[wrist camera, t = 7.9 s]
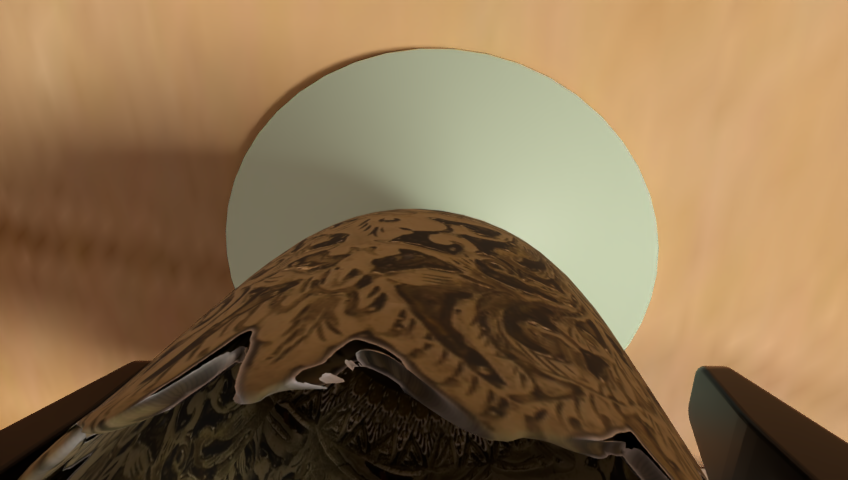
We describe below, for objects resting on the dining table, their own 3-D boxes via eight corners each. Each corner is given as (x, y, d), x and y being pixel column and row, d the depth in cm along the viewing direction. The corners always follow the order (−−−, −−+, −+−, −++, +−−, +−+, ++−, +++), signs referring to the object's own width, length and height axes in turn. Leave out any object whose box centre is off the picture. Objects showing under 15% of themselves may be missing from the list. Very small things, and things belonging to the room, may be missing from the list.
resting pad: (687, 31, 9) (692, 32, 9) (628, 429, 14) (631, 438, 13) (182, 63, 10) (175, 65, 10) (275, 421, 15) (271, 428, 14)
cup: (215, 226, 12) (-206, 589, 4) (493, 48, 9) (555, 195, 2) (391, 436, 14) (304, 892, 7) (647, 333, 12) (916, 849, 5)
